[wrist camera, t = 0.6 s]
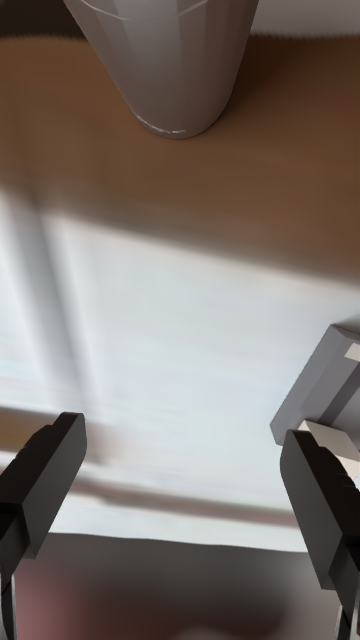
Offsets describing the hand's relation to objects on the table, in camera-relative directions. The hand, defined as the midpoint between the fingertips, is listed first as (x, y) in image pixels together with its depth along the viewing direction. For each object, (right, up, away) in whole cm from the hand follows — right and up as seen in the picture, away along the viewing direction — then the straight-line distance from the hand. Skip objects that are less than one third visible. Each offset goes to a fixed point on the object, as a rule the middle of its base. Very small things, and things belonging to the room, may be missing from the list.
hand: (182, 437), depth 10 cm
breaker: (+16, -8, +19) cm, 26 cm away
